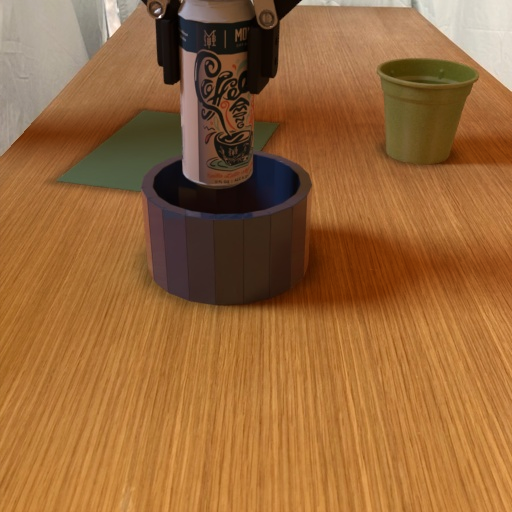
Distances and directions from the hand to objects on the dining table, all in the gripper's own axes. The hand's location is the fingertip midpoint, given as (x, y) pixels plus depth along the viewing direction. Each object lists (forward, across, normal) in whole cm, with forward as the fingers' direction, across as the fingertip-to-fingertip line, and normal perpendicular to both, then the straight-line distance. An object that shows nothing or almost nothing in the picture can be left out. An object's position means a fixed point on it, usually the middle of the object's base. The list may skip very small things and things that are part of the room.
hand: (217, 80), depth 44 cm
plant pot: (+14, +13, +25) cm, 31 cm away
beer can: (+7, 0, 0) cm, 7 cm away
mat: (+14, -10, +19) cm, 25 cm away
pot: (+14, +1, 0) cm, 14 cm away
